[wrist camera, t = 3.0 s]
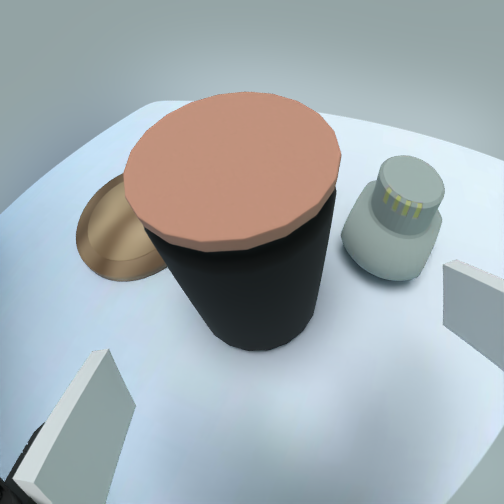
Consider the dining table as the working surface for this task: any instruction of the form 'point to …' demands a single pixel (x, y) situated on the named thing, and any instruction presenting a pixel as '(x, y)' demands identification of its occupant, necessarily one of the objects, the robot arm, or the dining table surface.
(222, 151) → the coffee jar
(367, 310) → the dining table surface
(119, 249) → the trivet
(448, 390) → the dining table surface
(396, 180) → the air freshener
